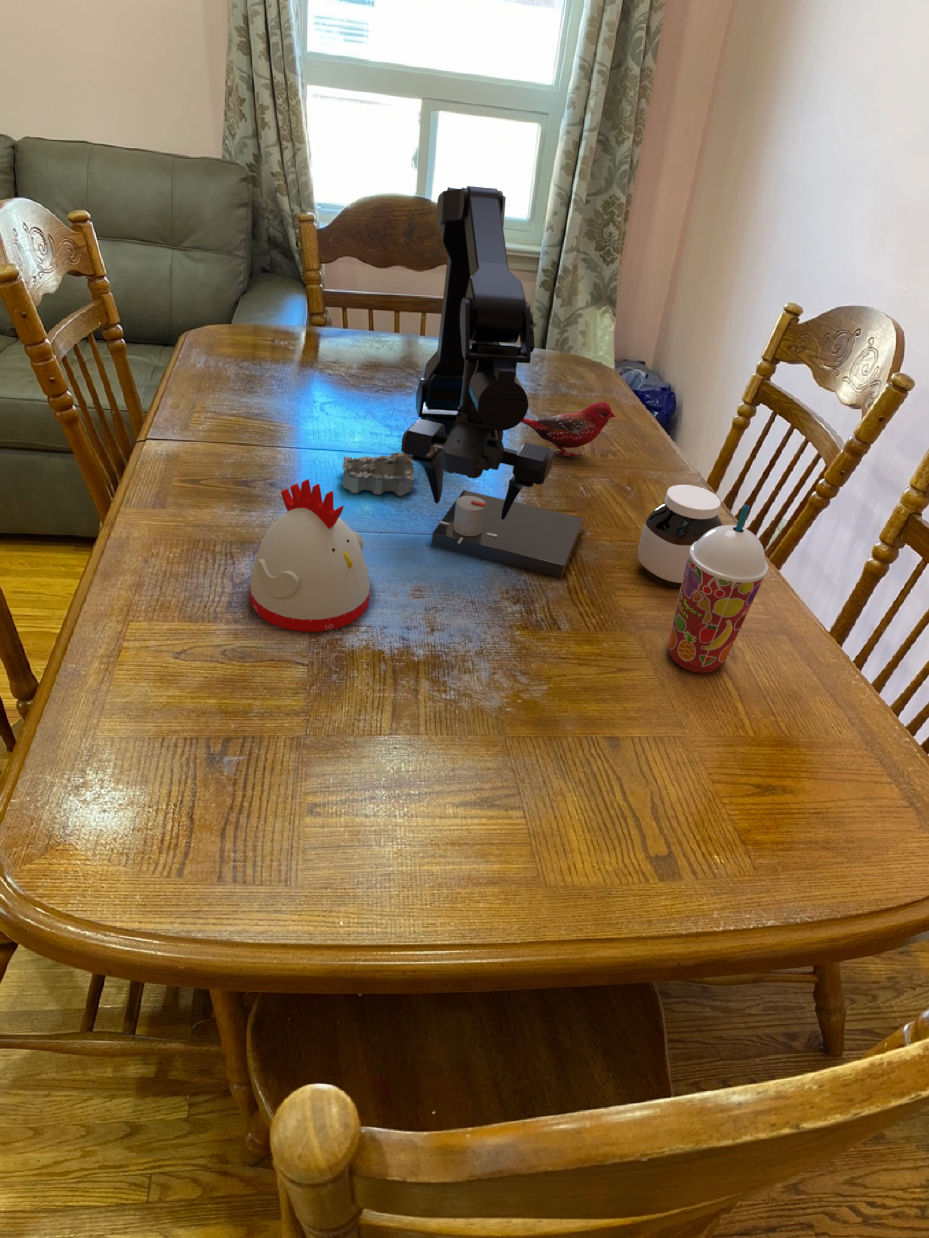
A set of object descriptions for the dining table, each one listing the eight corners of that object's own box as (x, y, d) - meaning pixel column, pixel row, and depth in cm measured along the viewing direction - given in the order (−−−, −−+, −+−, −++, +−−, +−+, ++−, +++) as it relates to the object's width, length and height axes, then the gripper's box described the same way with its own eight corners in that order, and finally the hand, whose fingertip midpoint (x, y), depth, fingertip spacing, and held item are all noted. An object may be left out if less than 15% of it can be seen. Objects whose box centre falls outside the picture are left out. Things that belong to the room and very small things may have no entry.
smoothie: (650, 635, 99) (695, 485, 87) (716, 637, 100) (769, 490, 88) (670, 680, 92) (721, 524, 80) (740, 682, 93) (801, 528, 81)
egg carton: (413, 476, 127) (415, 452, 124) (412, 499, 120) (414, 473, 118) (344, 470, 126) (344, 445, 123) (339, 492, 120) (340, 467, 117)
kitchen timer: (317, 647, 90) (317, 527, 81) (225, 600, 95) (216, 483, 86) (392, 593, 100) (400, 482, 91) (305, 553, 105) (304, 444, 97)
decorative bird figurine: (607, 464, 138) (620, 407, 132) (502, 453, 137) (511, 395, 131) (605, 457, 141) (617, 400, 135) (502, 445, 140) (510, 388, 134)
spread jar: (659, 595, 106) (683, 516, 99) (608, 552, 114) (627, 475, 107) (728, 580, 111) (755, 503, 105) (675, 539, 119) (697, 465, 112)
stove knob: (449, 532, 110) (452, 503, 107) (458, 519, 113) (461, 491, 110) (477, 539, 109) (481, 510, 106) (486, 526, 112) (489, 498, 109)
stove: (427, 548, 109) (429, 534, 108) (461, 501, 121) (463, 488, 120) (559, 582, 106) (562, 568, 105) (580, 530, 118) (583, 517, 117)
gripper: (388, 402, 95) (382, 520, 104) (544, 437, 92) (523, 555, 101) (420, 374, 104) (412, 485, 113) (563, 404, 101) (543, 516, 110)
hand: (470, 510), depth 109 cm, fingers open, 9 cm apart
